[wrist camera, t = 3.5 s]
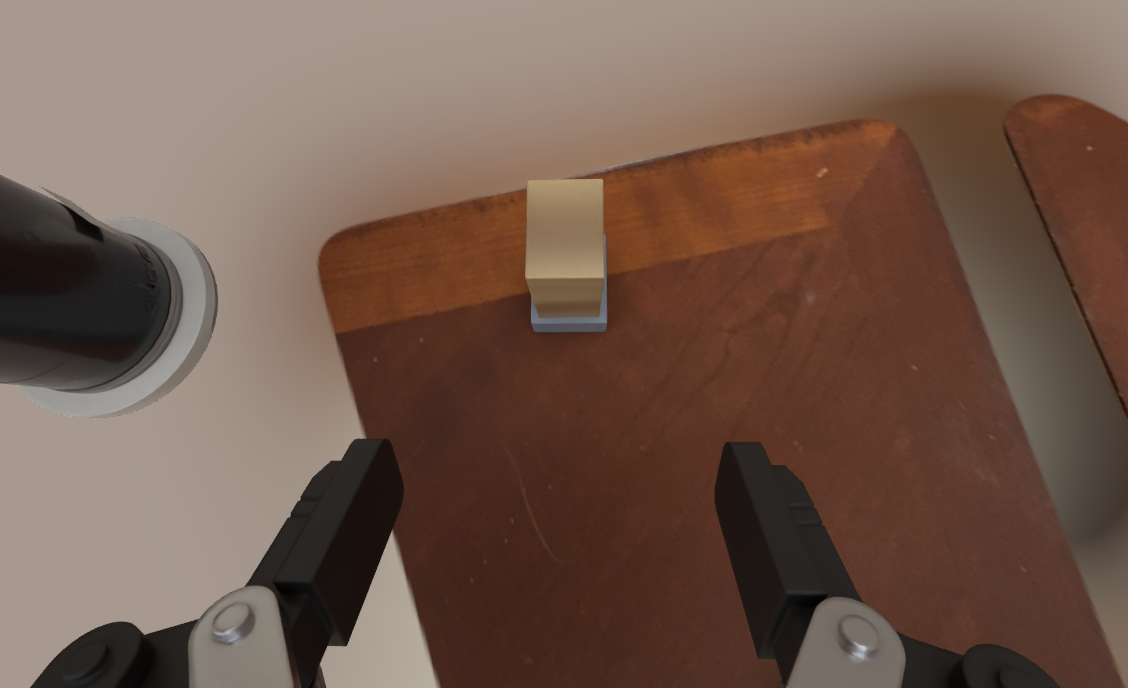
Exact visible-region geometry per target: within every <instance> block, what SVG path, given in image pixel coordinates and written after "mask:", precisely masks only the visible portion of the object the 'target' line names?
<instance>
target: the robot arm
mask: <svg viewBox="0 0 1128 688" xmlns="http://www.w3.org/2000/svg"><path fill="white" fill-rule="evenodd" d="M43 189H44V190H46V191H47V192H49V193H50V194H51V195H53V196H54V197H55V198H57V199H58V200H60V201H61V202H62V203H64V204H65V205H64V204H62V203H60V202H58V201H56V200H53V199H51V198H49V197H47V196H44V195H42V194H40V193H38V192H36V191H34V190H32V189H30V188H27V187H25V186H23V185H21V184H19V183H17V182H14V181H12V180H10V179H8V178H6V177H4V176H2V175H0V383H3V384H4V383H5V384H14V385H23V386H33V387H43V388H49V389H52V390H56V391H61V392H69V393H80V394H90V393H98V392H104V391H108V390H111V389H114V388H117V387H119V386H122V385H124V384H126V383H128V382H130V381H131V380H133V379H135V378H136V377H138V376H139V375H141V374H142V373H143V372H144V371H146V370H147V369H148V368H149V367H150V366H151V365H152V364H153V363H154V362H155V361H156V360H157V359H158V358H159V357H160V356H161V355H162V353H163V352H164V351H165V349H166V348H167V346H168V345H169V343H170V341H171V340H172V338H173V336H174V334H175V332H176V329H177V327H178V324H179V321H180V317H181V312H182V305H183V290H182V284H181V279H180V276H179V273H178V271H177V269H176V267H175V265H174V264H173V262H172V261H171V259H170V258H169V257H168V256H167V255H166V254H165V253H164V252H163V251H162V250H161V249H159V248H158V247H157V246H155V245H153V244H151V243H149V242H147V241H145V240H143V239H141V238H139V237H136V236H134V235H131V234H127V233H124V232H122V231H120V230H117V229H115V228H113V227H111V226H109V225H107V224H105V223H102V222H100V221H98V220H97V219H95V218H94V217H92V216H91V215H90V214H88V213H87V212H85V211H84V210H83V209H81V208H80V207H78V206H77V205H76V204H74V203H73V202H71V201H70V200H68V199H66V198H63V197H61V196H59V195H57V194H55V193H53V192H50V191H49V190H47V189H45V188H43ZM403 493H404V486H403V480H402V476H401V473H400V470H399V467H398V463H397V460H396V457H395V454H394V450H393V447H392V444H391V442H390V441H389V440H388V439H355V440H354V441H353V442H352V443H351V444H350V446H349V448H348V449H347V451H346V453H345V455H344V457H343V458H342V460H341V461H331V462H330V463H329V464H327V465H326V466H325V467H324V468H323V469H322V470H321V471H319V472H318V473H317V474H316V475H315V476H314V477H313V478H312V479H311V481H310V483H309V484H308V486H307V487H306V489H305V491H304V492H303V494H302V496H301V500H300V501H298V502H297V504H296V505H295V507H294V509H293V510H292V512H291V516H290V518H287V520H286V522H285V523H284V525H283V526H282V528H281V530H280V531H279V533H278V535H277V536H276V538H275V540H274V541H273V543H272V545H271V546H270V548H269V549H268V551H267V553H266V554H265V556H264V557H263V559H262V561H261V562H260V564H259V565H258V567H257V569H256V570H255V572H254V573H253V575H252V577H251V579H250V580H249V582H248V583H247V584H246V585H245V587H243V588H240V589H237V590H235V591H233V592H230V593H229V594H227V595H225V596H223V597H222V598H221V599H219V600H218V601H216V602H215V603H214V604H213V605H212V606H210V608H208V609H207V610H206V611H205V612H204V614H203V615H202V616H201V617H200V619H197V620H194V621H191V622H187V623H184V624H180V625H177V626H174V627H170V628H166V629H163V630H160V631H156V632H153V633H149V634H146V635H144V634H143V633H142V632H141V631H140V630H139V629H138V628H137V627H136V626H135V625H133V624H132V623H128V622H113V623H109V624H106V625H103V626H100V627H98V628H95V629H94V630H91V631H90V632H88V633H86V634H84V635H82V636H81V637H79V638H78V639H76V640H75V641H74V642H72V643H71V644H70V645H68V646H67V647H66V648H65V649H63V650H62V651H61V652H60V653H59V654H58V655H57V656H56V657H55V658H54V659H53V660H52V661H51V663H50V664H49V665H48V666H47V667H46V669H45V670H44V671H43V672H42V674H41V675H40V676H39V677H38V679H37V680H36V681H35V682H34V684H33V685H32V686H31V687H30V688H326V685H325V681H324V677H323V673H322V669H321V666H320V662H321V659H322V657H323V655H324V653H325V650H326V648H327V646H347V644H348V642H349V639H350V637H351V634H352V631H353V629H354V626H355V624H356V621H357V619H358V616H359V613H360V611H361V608H362V606H363V603H364V600H365V598H366V595H367V593H368V590H369V587H370V585H371V582H372V580H373V577H374V575H375V572H376V570H377V567H378V564H379V562H380V559H381V557H382V554H383V552H384V549H385V547H386V544H387V541H388V539H389V536H390V534H391V531H392V529H393V526H394V523H395V521H396V518H397V516H398V513H399V511H400V508H401V505H402V501H403ZM715 505H716V511H717V515H718V518H719V522H720V525H721V529H722V532H723V536H724V539H725V543H726V546H727V550H728V554H729V557H730V561H731V564H732V568H733V571H734V575H735V578H736V582H737V585H738V589H739V593H740V596H741V600H742V603H743V607H744V610H745V614H746V617H747V621H748V624H749V628H750V632H751V635H752V639H753V642H754V646H755V649H756V653H757V656H758V659H776V661H777V664H778V667H779V671H780V674H781V677H782V679H781V681H780V683H779V685H778V688H1061V687H1060V686H1059V685H1058V684H1057V683H1056V682H1055V681H1054V680H1053V679H1052V678H1051V677H1050V676H1049V675H1048V674H1047V673H1046V672H1045V671H1044V670H1042V669H1041V668H1040V667H1038V666H1037V665H1036V664H1035V663H1033V662H1032V661H1030V660H1029V659H1027V658H1026V657H1024V656H1022V655H1020V654H1018V653H1016V652H1014V651H1012V650H1010V649H1007V648H1004V647H1001V646H998V645H992V644H980V645H975V646H973V647H971V648H970V649H969V650H968V651H967V652H966V653H965V654H964V655H960V654H957V653H954V652H951V651H948V650H945V649H942V648H939V647H936V646H933V645H930V644H927V643H924V642H921V641H918V640H915V639H912V638H909V637H907V636H905V635H903V634H901V633H899V632H897V631H895V630H894V629H893V627H892V626H891V625H890V624H889V623H888V621H887V620H885V619H884V618H883V617H882V616H881V615H880V614H879V613H878V612H876V611H875V610H874V609H872V608H870V607H869V606H867V605H865V604H864V603H863V601H862V600H861V598H860V597H859V595H858V593H857V591H856V589H855V587H854V585H853V583H852V581H851V579H850V577H849V575H848V573H847V571H846V569H845V567H844V565H843V563H842V561H841V559H840V557H839V555H838V553H837V551H836V549H835V547H834V545H833V543H832V541H831V539H830V537H829V535H828V533H827V531H826V529H825V527H824V526H822V521H821V519H820V517H819V515H818V512H817V510H816V509H814V507H813V502H812V500H811V498H810V496H809V494H808V492H807V490H806V488H805V486H804V484H803V483H802V482H801V481H800V480H799V479H798V478H797V477H796V476H795V475H794V474H793V473H792V472H791V471H790V470H789V469H788V468H787V467H786V466H785V465H771V463H770V461H769V459H768V457H767V454H766V452H765V450H764V448H763V446H762V444H761V443H759V442H726V443H725V445H724V447H723V452H722V456H721V461H720V465H719V470H718V475H717V479H716V484H715Z"/></svg>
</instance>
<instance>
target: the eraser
mask: <svg viewBox="0 0 1128 688" xmlns="http://www.w3.org/2000/svg"><path fill="white" fill-rule="evenodd" d="M525 279H526V282H527V285H528V288H529V290H530V293H531V324H532V327H533V329H534V331H535V332H605V331H606V326H607V274H606V235H604V195H603V179H571V180H528V182H527V216H526V257H525Z"/></svg>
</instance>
